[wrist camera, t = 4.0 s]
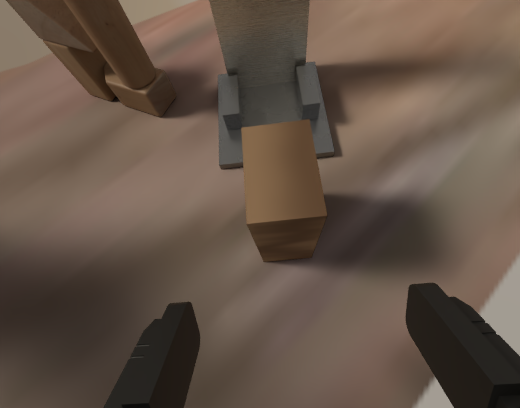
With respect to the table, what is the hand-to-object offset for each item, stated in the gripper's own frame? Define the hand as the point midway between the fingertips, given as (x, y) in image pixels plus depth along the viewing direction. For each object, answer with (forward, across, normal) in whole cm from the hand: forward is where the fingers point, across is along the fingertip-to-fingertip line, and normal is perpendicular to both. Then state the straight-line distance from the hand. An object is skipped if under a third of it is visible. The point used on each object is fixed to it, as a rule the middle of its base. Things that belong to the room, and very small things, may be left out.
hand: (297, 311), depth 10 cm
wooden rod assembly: (+26, +16, -9) cm, 32 cm away
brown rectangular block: (+13, 0, +3) cm, 14 cm away
